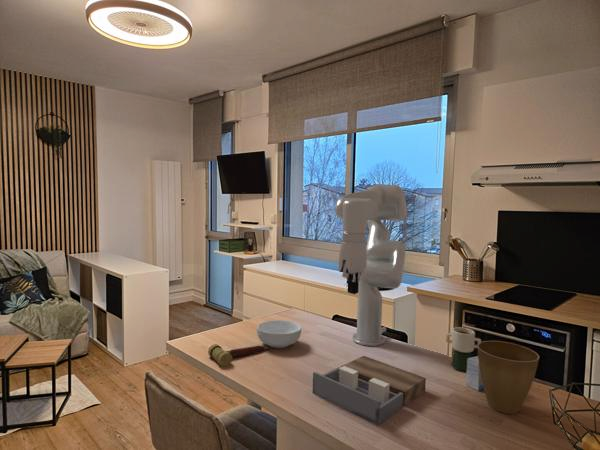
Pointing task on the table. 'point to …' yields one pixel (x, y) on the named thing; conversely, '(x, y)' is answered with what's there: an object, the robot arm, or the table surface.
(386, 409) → the tray
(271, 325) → the cereal bowl
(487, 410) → the table surface
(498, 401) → the plant pot
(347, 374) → the white square tile
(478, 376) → the medicine box
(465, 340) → the character mug
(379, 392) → the tile
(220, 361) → the gavel
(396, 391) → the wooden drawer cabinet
